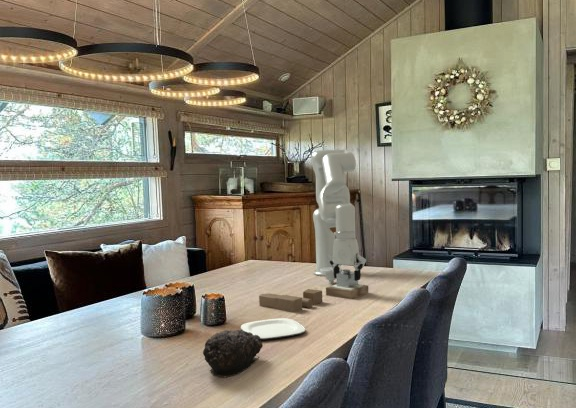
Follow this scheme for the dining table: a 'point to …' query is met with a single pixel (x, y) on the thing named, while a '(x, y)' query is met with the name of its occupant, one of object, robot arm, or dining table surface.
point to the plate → (274, 328)
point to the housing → (346, 279)
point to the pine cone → (231, 352)
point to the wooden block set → (291, 300)
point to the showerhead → (329, 274)
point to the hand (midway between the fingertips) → (347, 278)
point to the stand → (347, 291)
